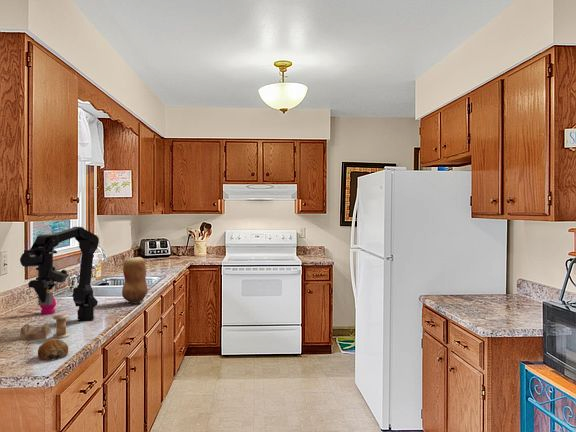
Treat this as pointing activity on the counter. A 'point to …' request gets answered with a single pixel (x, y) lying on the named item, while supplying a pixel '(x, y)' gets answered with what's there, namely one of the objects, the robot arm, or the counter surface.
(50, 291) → the block
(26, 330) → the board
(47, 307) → the pepper mill
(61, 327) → the door knob
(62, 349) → the bread roll
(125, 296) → the butternut squash
